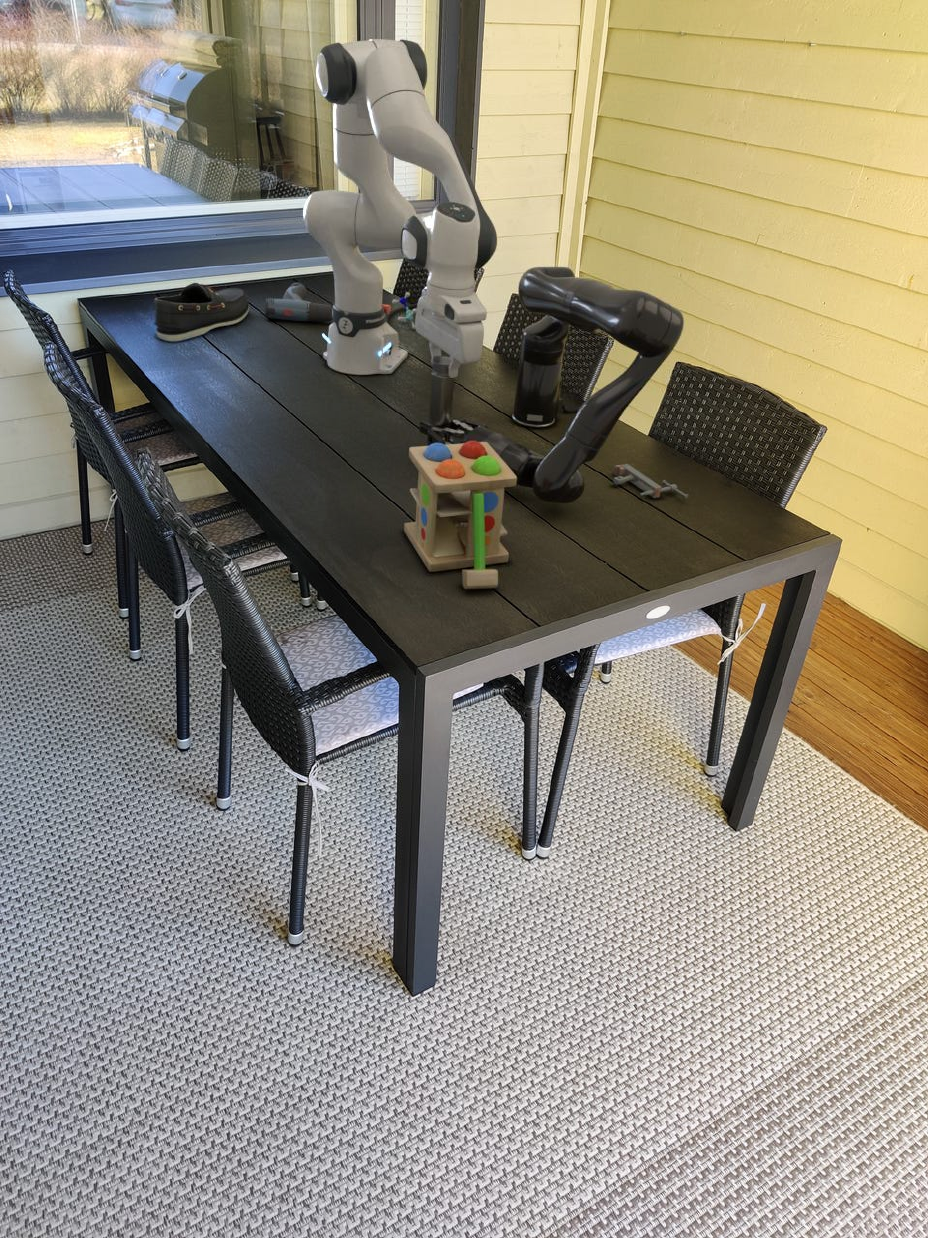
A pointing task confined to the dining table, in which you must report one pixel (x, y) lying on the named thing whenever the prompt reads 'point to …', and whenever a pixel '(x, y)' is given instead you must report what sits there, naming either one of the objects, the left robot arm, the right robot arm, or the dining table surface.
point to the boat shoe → (198, 311)
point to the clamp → (624, 475)
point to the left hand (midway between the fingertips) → (444, 370)
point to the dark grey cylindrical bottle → (441, 401)
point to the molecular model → (409, 312)
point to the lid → (441, 364)
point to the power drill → (297, 306)
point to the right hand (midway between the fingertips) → (429, 423)
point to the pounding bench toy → (460, 509)
